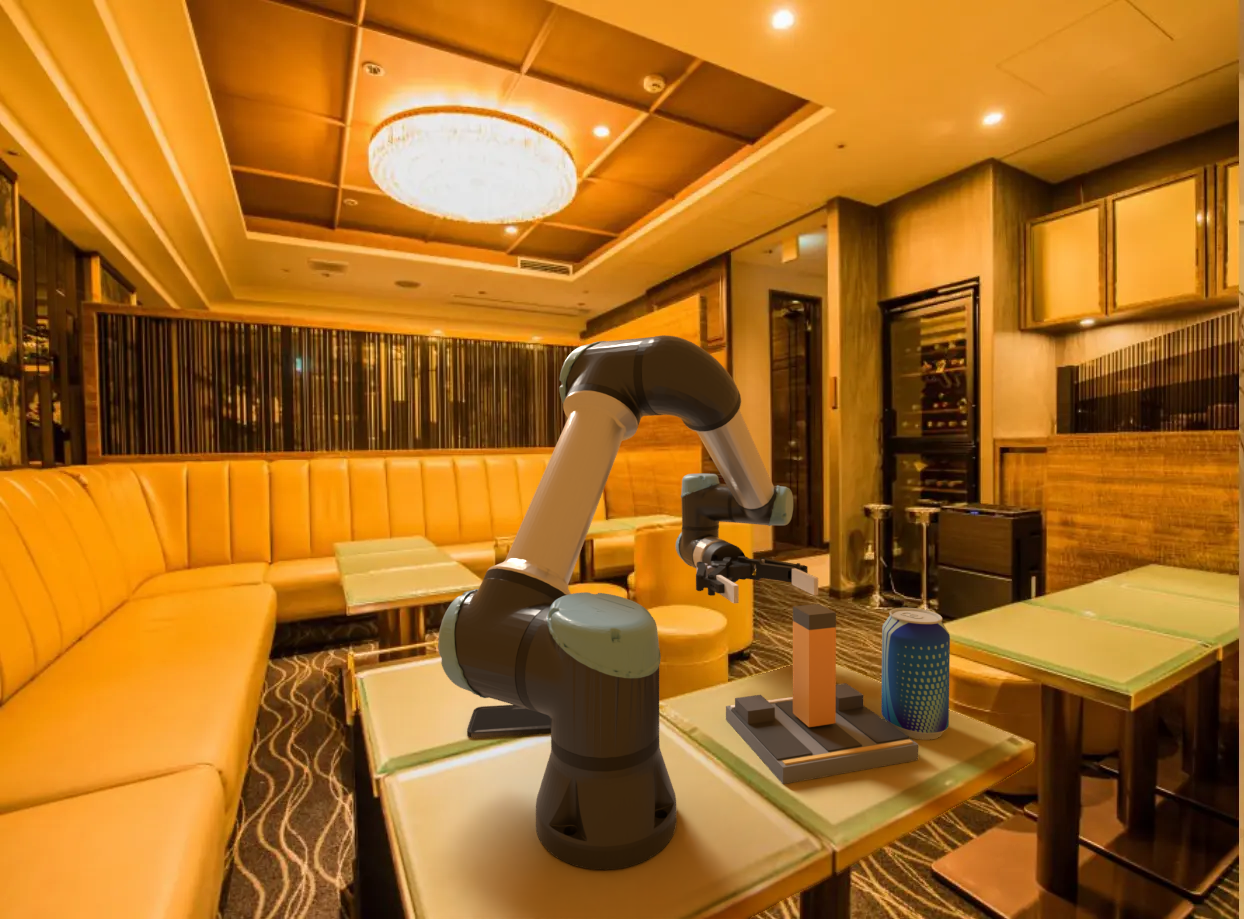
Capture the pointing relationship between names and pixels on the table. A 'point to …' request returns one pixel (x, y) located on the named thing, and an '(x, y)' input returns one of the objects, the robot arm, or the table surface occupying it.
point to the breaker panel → (819, 737)
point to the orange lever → (814, 664)
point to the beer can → (915, 672)
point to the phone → (507, 722)
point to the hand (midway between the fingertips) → (777, 590)
